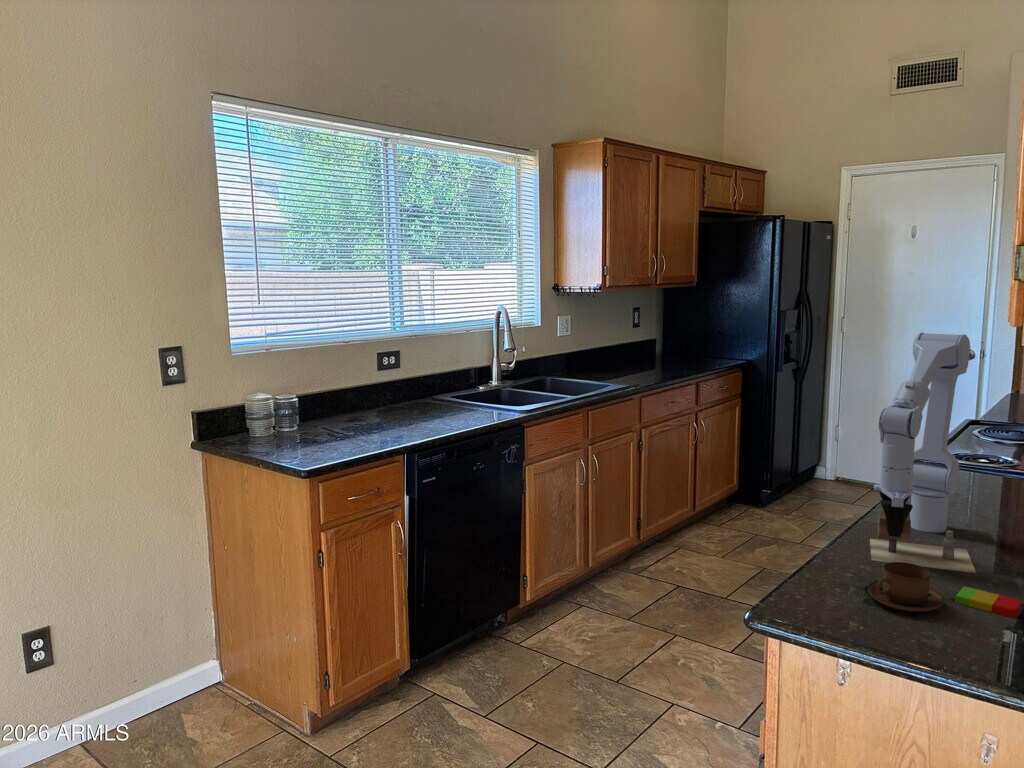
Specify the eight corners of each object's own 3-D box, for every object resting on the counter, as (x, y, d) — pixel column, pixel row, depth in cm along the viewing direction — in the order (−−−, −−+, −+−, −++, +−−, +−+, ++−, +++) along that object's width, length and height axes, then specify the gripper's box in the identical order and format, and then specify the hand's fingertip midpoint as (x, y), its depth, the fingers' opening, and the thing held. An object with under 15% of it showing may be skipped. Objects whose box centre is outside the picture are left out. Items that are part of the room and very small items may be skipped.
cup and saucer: (922, 625, 127) (924, 590, 126) (853, 600, 136) (855, 567, 136) (956, 605, 134) (958, 572, 133) (888, 583, 143) (890, 552, 143)
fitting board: (869, 543, 164) (871, 513, 163) (966, 554, 156) (968, 523, 156) (871, 564, 152) (872, 533, 151) (975, 577, 145) (978, 545, 144)
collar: (877, 528, 159) (878, 510, 159) (907, 532, 157) (908, 513, 156) (878, 537, 154) (879, 518, 154) (909, 541, 152) (910, 521, 151)
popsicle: (1016, 621, 128) (1017, 610, 128) (918, 596, 138) (919, 586, 138) (1023, 610, 132) (1023, 599, 132) (927, 586, 142) (928, 577, 142)
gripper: (874, 456, 161) (870, 517, 164) (876, 473, 148) (872, 540, 150) (911, 458, 159) (907, 521, 161) (917, 476, 146) (913, 544, 148)
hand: (893, 531), depth 155 cm, fingers closed on collar, 6 cm apart
